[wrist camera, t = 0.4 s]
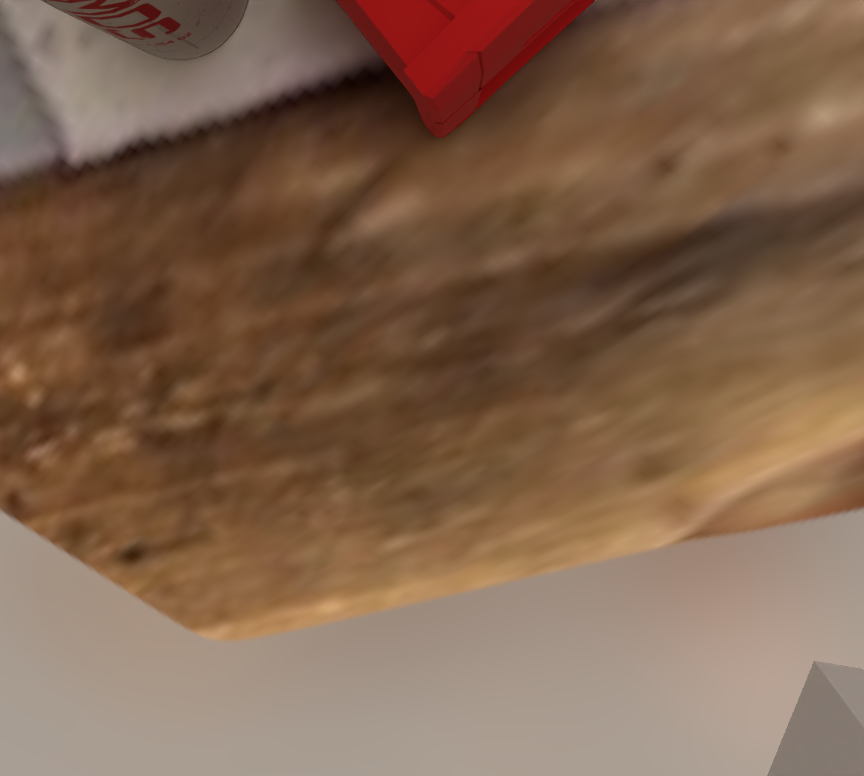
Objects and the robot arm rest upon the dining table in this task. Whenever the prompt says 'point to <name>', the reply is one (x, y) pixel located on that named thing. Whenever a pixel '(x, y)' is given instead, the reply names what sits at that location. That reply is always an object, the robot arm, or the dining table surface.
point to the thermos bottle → (161, 23)
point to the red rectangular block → (458, 47)
